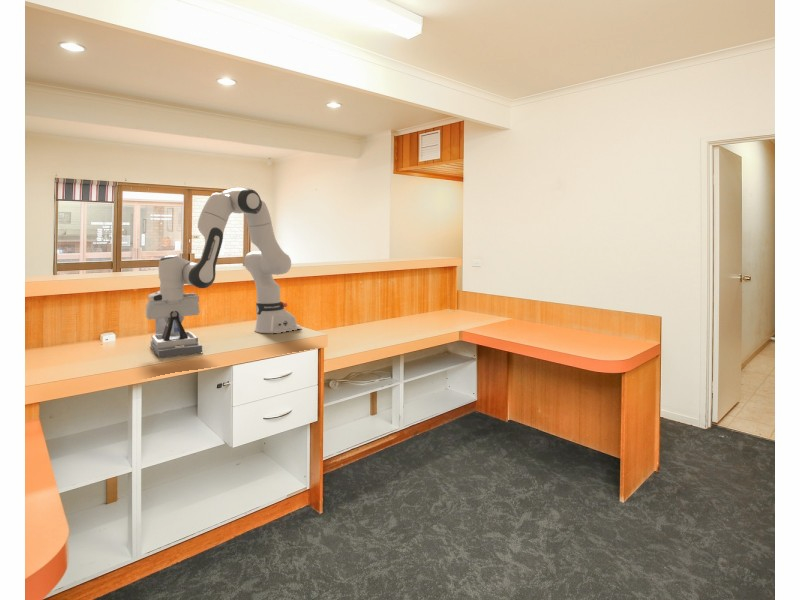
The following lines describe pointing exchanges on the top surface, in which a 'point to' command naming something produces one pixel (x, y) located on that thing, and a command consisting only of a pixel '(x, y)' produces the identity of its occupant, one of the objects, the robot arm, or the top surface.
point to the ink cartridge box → (161, 325)
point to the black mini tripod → (168, 329)
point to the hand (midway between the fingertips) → (174, 327)
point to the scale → (175, 345)
